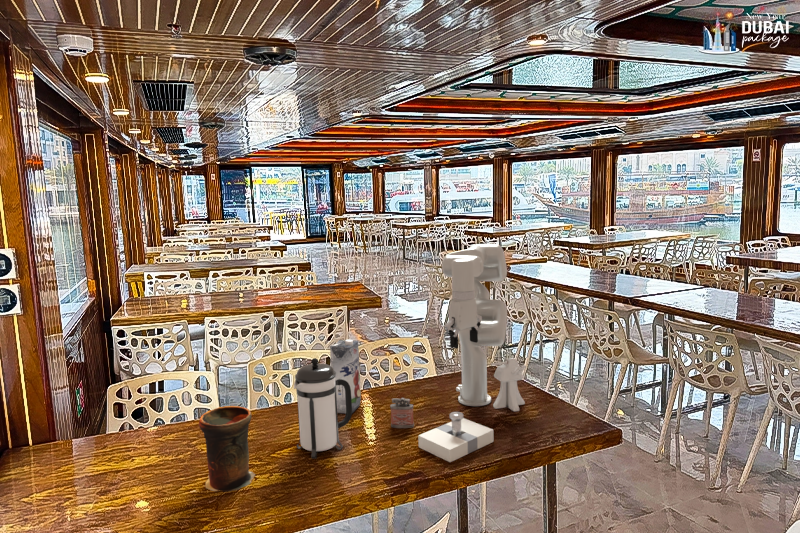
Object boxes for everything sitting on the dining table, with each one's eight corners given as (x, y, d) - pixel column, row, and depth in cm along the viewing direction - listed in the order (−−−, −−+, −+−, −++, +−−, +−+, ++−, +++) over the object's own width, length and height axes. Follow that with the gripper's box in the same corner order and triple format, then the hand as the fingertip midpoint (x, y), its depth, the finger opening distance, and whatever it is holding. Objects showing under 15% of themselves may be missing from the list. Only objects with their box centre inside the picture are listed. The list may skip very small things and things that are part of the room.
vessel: (236, 462, 176) (232, 400, 173) (265, 477, 167) (261, 412, 164) (193, 482, 165) (188, 416, 162) (222, 499, 156) (217, 430, 153)
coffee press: (338, 461, 175) (333, 366, 170) (288, 457, 178) (283, 364, 174) (353, 436, 191) (349, 350, 187) (308, 434, 195) (303, 348, 190)
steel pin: (447, 444, 184) (446, 414, 182) (456, 439, 186) (456, 410, 185) (457, 448, 180) (456, 418, 179) (466, 444, 183) (466, 414, 182)
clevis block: (450, 462, 171) (449, 449, 171) (418, 447, 182) (418, 435, 181) (493, 441, 184) (493, 429, 184) (461, 428, 195) (461, 417, 194)
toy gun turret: (484, 402, 217) (483, 356, 215) (515, 397, 221) (515, 352, 219) (498, 414, 206) (498, 365, 204) (531, 408, 210) (531, 361, 207)
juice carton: (330, 413, 211) (327, 343, 208) (341, 403, 221) (338, 335, 217) (353, 415, 209) (349, 344, 205) (363, 405, 219) (360, 336, 215)
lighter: (414, 424, 200) (413, 396, 198) (413, 428, 197) (412, 400, 195) (391, 423, 201) (390, 396, 199) (390, 427, 197) (389, 400, 196)
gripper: (472, 290, 201) (473, 337, 203) (437, 297, 190) (438, 347, 192) (488, 293, 195) (489, 341, 198) (453, 300, 184) (454, 352, 187)
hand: (464, 344), depth 195 cm, fingers open, 9 cm apart
